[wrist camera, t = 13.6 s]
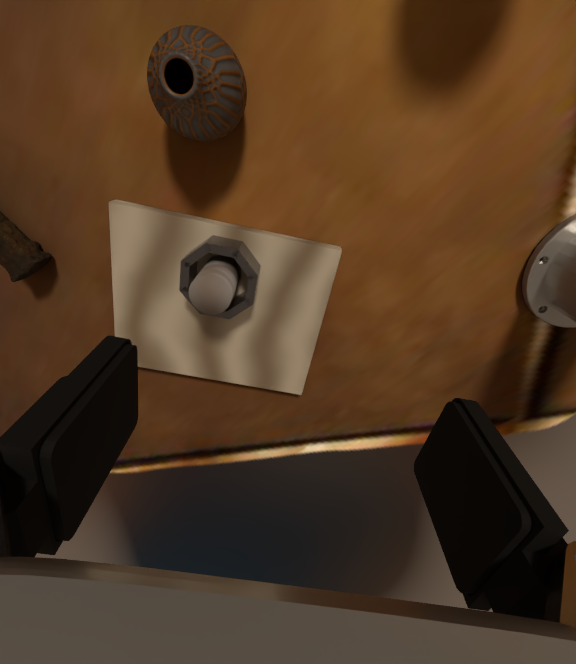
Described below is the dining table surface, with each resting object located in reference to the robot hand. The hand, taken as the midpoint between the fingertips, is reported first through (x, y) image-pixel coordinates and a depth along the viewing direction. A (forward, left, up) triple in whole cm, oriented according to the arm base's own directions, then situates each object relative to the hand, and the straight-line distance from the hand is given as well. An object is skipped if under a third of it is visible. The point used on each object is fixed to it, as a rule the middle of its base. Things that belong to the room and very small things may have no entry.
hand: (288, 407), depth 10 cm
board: (+6, +10, -26) cm, 29 cm away
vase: (+9, -9, -27) cm, 29 cm away
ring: (+6, +6, -25) cm, 26 cm away
